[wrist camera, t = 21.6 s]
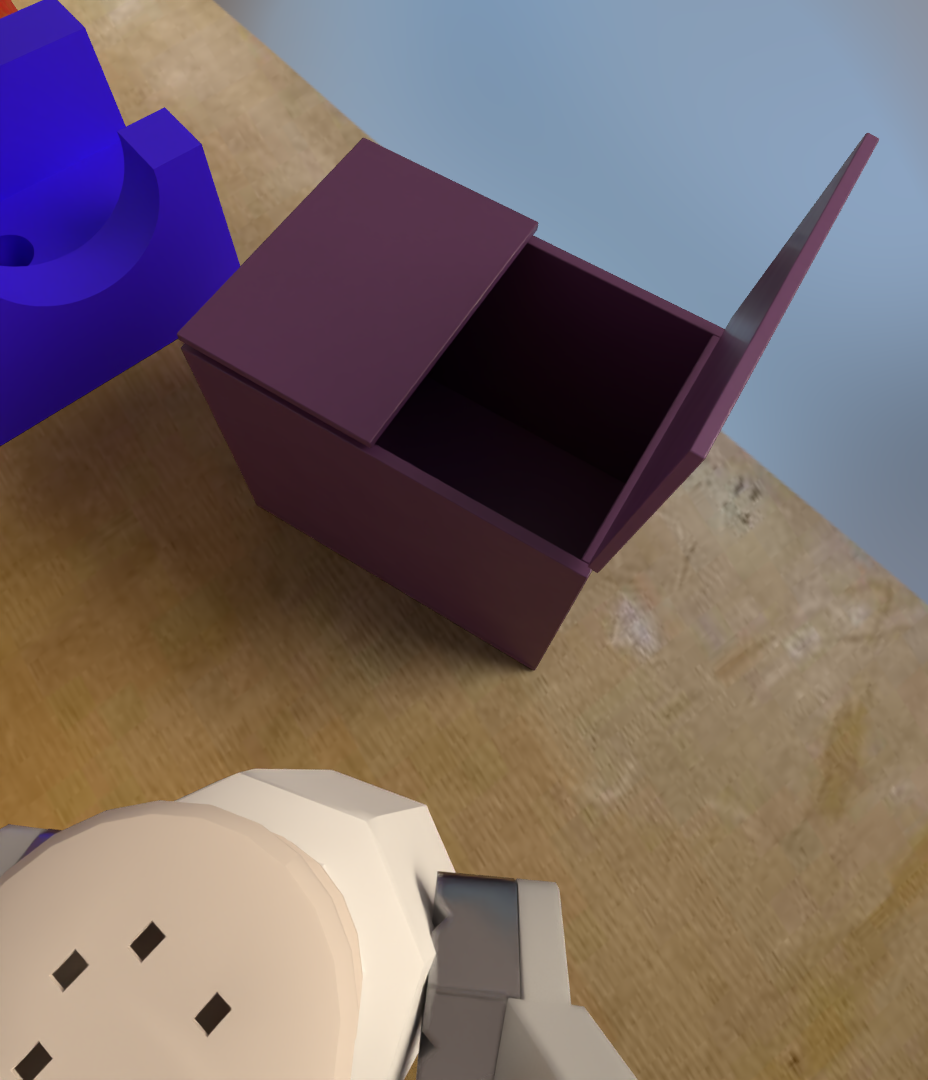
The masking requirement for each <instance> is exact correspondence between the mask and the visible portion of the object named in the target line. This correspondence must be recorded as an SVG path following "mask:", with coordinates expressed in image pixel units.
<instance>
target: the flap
mask: <svg viewBox="0 0 928 1080" xmlns="http://www.w3.org/2000/svg"><path fill="white" fill-rule="evenodd" d="M878 141H879V138H877V137H875V136H873V135H871V134H870V133H866V134H865V136H864V137H863V138H862V140H861V141H860V142H859V144H858V145H857V147H856V148H855V149H854V151H853V152H852V153H851V155H850V156H849V157H848V159H847V160H846V162H845V163H844V164H843V166H842V167H841V169H840V170H839V171H838V173H837V174H836V175H835V177H834V178H833V179H832V181H831V182H830V184H829V185H828V186H827V188H826V189H825V190H824V192H823V193H822V195H821V196H820V197H819V199H818V200H817V201H816V203H815V204H814V206H813V207H812V208H811V210H810V211H809V213H808V214H807V215H806V217H805V218H804V219H803V221H802V222H801V224H800V225H799V226H798V228H797V229H796V230H795V232H794V233H793V234H792V236H791V237H790V239H789V240H788V241H787V243H786V244H785V245H784V247H783V248H782V249H781V251H780V252H779V254H778V255H777V257H776V258H775V259H774V261H773V262H772V263H771V265H770V266H769V267H768V269H767V270H766V271H765V273H764V274H763V276H762V277H761V278H760V280H759V281H758V283H757V284H756V285H755V287H754V288H753V289H752V291H751V292H750V293H749V295H748V296H747V298H746V299H745V300H744V302H743V303H742V304H741V306H740V307H739V309H738V310H737V311H736V313H735V314H734V315H733V317H732V318H731V320H730V322H729V323H728V325H727V327H726V329H725V330H724V332H723V334H722V335H721V337H720V339H719V341H718V342H717V344H716V346H715V348H714V349H713V351H712V353H711V354H710V356H709V358H708V360H707V361H706V363H705V365H704V366H703V368H702V370H701V372H700V373H699V375H698V377H697V379H696V380H695V382H694V384H693V385H692V387H691V389H690V391H689V392H688V394H687V396H686V398H685V399H684V401H683V403H682V404H681V406H680V408H679V410H678V411H677V413H676V415H675V416H674V418H673V420H672V422H671V423H670V425H669V427H668V429H667V430H666V432H665V434H664V435H663V437H662V439H661V441H660V442H659V444H658V446H657V448H656V449H655V451H654V453H653V454H652V456H651V458H650V460H649V461H648V463H647V465H646V466H645V468H644V470H643V472H642V473H641V475H640V477H639V479H638V480H637V482H636V484H635V485H634V487H633V489H632V491H631V492H630V494H629V496H628V498H627V499H626V501H625V503H624V504H623V506H622V508H621V510H620V511H619V513H618V515H617V516H616V518H615V520H614V522H613V523H612V525H611V527H610V529H609V530H608V532H607V534H606V535H605V537H604V539H603V541H602V542H601V544H600V546H599V547H598V549H597V551H596V553H595V554H594V556H593V558H592V560H591V561H590V563H589V565H588V567H589V568H590V569H592V570H593V571H595V572H597V573H598V572H599V571H600V570H601V569H602V568H603V567H604V566H605V565H606V564H607V563H608V562H609V561H610V560H611V558H612V557H613V556H614V555H615V554H616V553H617V552H618V551H619V550H620V549H621V548H622V547H623V546H624V545H625V544H626V543H627V541H628V540H629V539H630V538H631V537H632V536H633V535H634V534H635V533H636V532H637V531H638V530H639V529H640V528H641V527H642V526H643V524H644V523H645V522H646V521H647V520H648V519H649V518H650V517H651V516H652V515H653V514H654V513H655V512H656V511H657V510H658V509H659V507H660V506H661V505H662V504H663V503H664V502H665V501H666V500H667V499H668V498H669V497H670V496H671V495H672V494H673V493H674V491H675V490H676V489H677V488H678V487H679V486H680V485H681V484H682V483H683V482H684V481H685V480H686V479H687V478H688V477H689V476H690V474H691V473H692V472H693V471H694V470H695V469H696V468H697V467H698V466H699V465H700V464H701V463H702V462H703V461H704V460H705V458H706V456H707V455H708V453H709V451H710V449H711V447H712V445H713V444H714V442H715V440H716V438H717V436H718V434H719V433H720V431H721V429H722V427H723V425H724V423H725V421H726V420H727V418H728V416H729V414H730V412H731V410H732V409H733V407H734V405H735V403H736V401H737V400H738V398H739V396H740V394H741V392H742V390H743V389H744V387H745V385H746V383H747V381H748V379H749V378H750V376H751V374H752V372H753V370H754V368H755V367H756V365H757V363H758V361H759V359H760V357H761V356H762V354H763V352H764V350H765V348H766V346H767V345H768V343H769V341H770V339H771V337H772V335H773V333H774V332H775V330H776V328H777V326H778V324H779V323H780V321H781V319H782V317H783V315H784V313H785V312H786V309H787V308H788V306H789V304H790V302H791V301H792V298H793V297H794V295H795V293H796V291H797V290H798V288H799V286H800V284H801V282H802V280H803V278H804V277H805V275H806V273H807V271H808V269H809V268H810V266H811V264H812V262H813V260H814V258H815V257H816V255H817V253H818V251H819V249H820V247H821V245H822V244H823V242H824V240H825V238H826V236H827V235H828V233H829V231H830V229H831V227H832V225H833V223H834V222H835V220H836V218H837V216H838V214H839V212H840V211H841V209H842V207H843V205H844V203H845V202H846V200H847V198H848V196H849V194H850V192H851V190H852V189H853V187H854V185H855V183H856V181H857V180H858V178H859V176H860V174H861V172H862V170H863V169H864V167H865V165H866V163H867V161H868V159H869V158H870V156H871V154H872V152H873V150H874V148H875V146H876V145H877V143H878Z"/></svg>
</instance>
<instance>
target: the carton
mask: <svg viewBox="0 0 928 1080" xmlns="http://www.w3.org/2000/svg"><path fill="white" fill-rule="evenodd" d="M537 228H538V222H536V221H534V220H532V219H530V218H528V217H526V216H524V215H522V214H520V213H518V212H516V211H514V210H512V209H510V208H508V207H505V206H503V205H501V204H499V203H497V202H495V201H493V200H491V199H489V198H487V197H484V196H483V195H481V194H479V193H477V192H474V191H473V190H471V189H468V188H466V187H464V186H462V185H460V184H458V183H456V182H454V181H452V180H450V179H448V178H446V177H444V176H442V175H440V174H438V173H435V172H433V171H431V170H429V169H427V168H425V167H423V166H421V165H419V164H417V163H415V162H413V161H411V160H409V159H407V158H405V157H402V156H400V155H398V154H396V153H394V152H392V151H390V150H388V149H386V148H384V147H382V146H380V145H378V144H376V143H374V142H372V141H370V140H367V139H365V138H362V139H361V140H360V141H359V142H358V143H357V144H356V146H355V147H354V148H353V149H352V150H351V151H350V152H349V153H348V154H347V155H346V156H345V157H344V158H343V159H342V160H341V161H340V162H339V163H338V164H337V165H336V167H335V168H334V169H333V170H332V171H331V172H330V173H329V174H328V175H327V176H326V177H325V178H324V179H323V180H322V181H321V182H320V183H319V184H318V185H317V187H316V188H315V189H314V190H313V191H312V192H311V193H310V194H309V195H308V196H307V197H306V198H305V199H304V200H303V201H302V202H301V203H300V204H299V205H298V206H297V208H296V209H295V210H294V211H293V212H292V213H291V214H290V215H289V216H288V217H287V218H286V219H285V220H284V221H283V222H282V223H281V224H280V225H279V226H278V228H277V229H276V230H275V231H274V232H273V233H272V234H271V235H270V236H269V237H268V238H267V239H266V240H265V241H264V242H263V243H262V244H261V245H260V246H259V247H258V249H257V250H256V251H255V252H254V253H253V254H252V255H251V256H250V257H249V258H248V259H247V260H246V261H245V262H244V263H243V264H242V265H241V266H240V267H239V269H238V270H237V271H236V272H235V273H234V274H233V275H232V276H231V277H230V278H229V279H228V280H227V281H226V282H225V283H224V284H223V285H222V286H221V287H220V288H219V290H218V291H217V292H216V293H215V294H214V295H213V296H212V297H211V298H210V299H209V300H208V301H207V302H206V303H205V304H204V305H203V306H202V307H201V308H200V310H199V311H198V312H197V313H196V314H195V315H194V316H193V317H192V318H191V319H190V320H189V321H188V322H187V323H186V324H185V325H184V326H183V327H182V328H181V329H180V331H179V332H178V333H177V336H178V338H179V340H180V341H182V342H183V343H185V344H184V345H183V346H182V347H181V349H182V352H183V354H184V356H185V358H186V360H187V362H188V364H189V366H190V368H191V370H192V372H193V374H194V376H195V378H196V380H197V382H198V385H199V387H200V389H201V391H202V393H203V395H204V397H205V399H206V401H207V403H208V405H209V407H210V409H211V411H212V413H213V416H214V418H215V420H216V422H217V424H218V426H219V428H220V430H221V432H222V434H223V436H224V438H225V440H226V442H227V444H228V446H229V449H230V451H231V453H232V455H233V457H234V459H235V461H236V463H237V465H238V467H239V469H240V471H241V473H242V475H243V477H244V479H245V482H246V484H247V486H248V488H249V490H250V492H251V494H252V496H253V498H254V500H255V502H256V504H257V505H258V506H259V507H261V508H263V509H264V510H266V511H268V512H270V513H271V514H273V515H275V516H276V517H278V518H280V519H281V520H283V521H285V522H286V523H288V524H290V525H291V526H293V527H295V528H296V529H298V530H300V531H301V532H303V533H305V534H306V535H308V536H310V537H311V538H313V539H315V540H316V541H318V542H320V543H321V544H323V545H325V546H326V547H328V548H330V549H331V550H333V551H335V552H336V553H338V554H340V555H341V556H343V557H345V558H346V559H348V560H350V561H351V562H353V563H355V564H356V565H358V566H360V567H361V568H363V569H365V570H366V571H368V572H370V573H371V574H373V575H375V576H376V577H378V578H380V579H381V580H383V581H385V582H387V583H388V584H390V585H392V586H393V587H395V588H397V589H398V590H400V591H402V592H403V593H405V594H407V595H408V596H410V597H412V598H413V599H415V600H417V601H418V602H420V603H422V604H423V605H425V606H427V607H428V608H430V609H432V610H433V611H435V612H437V613H438V614H440V615H442V616H443V617H445V618H447V619H448V620H450V621H452V622H453V623H455V624H457V625H458V626H460V627H462V628H463V629H465V630H467V631H468V632H470V633H472V634H473V635H475V636H477V637H478V638H480V639H482V640H483V641H485V642H487V643H488V644H490V645H492V646H493V647H495V648H497V649H498V650H500V651H502V652H504V653H505V654H507V655H509V656H510V657H512V658H514V659H515V660H517V661H519V662H520V663H522V664H524V665H525V666H527V667H529V668H530V669H532V670H535V669H536V667H537V666H538V664H539V662H540V661H541V659H542V657H543V655H544V654H545V652H546V650H547V648H548V647H549V645H550V643H551V641H552V640H553V638H554V636H555V634H556V633H557V631H558V629H559V628H560V626H561V624H562V622H563V621H564V619H565V617H566V615H567V614H568V612H569V610H570V608H571V607H572V605H573V603H574V601H575V600H576V598H577V596H578V595H579V593H580V591H581V589H582V588H583V586H584V584H585V582H586V581H587V579H588V577H589V575H590V574H591V572H592V569H590V568H589V567H588V565H589V563H590V561H591V560H592V558H593V556H594V554H595V553H596V551H597V549H598V547H599V546H600V544H601V542H602V541H603V539H604V537H605V535H606V534H607V532H608V530H609V529H610V527H611V525H612V523H613V522H614V520H615V518H616V516H617V515H618V513H619V511H620V510H621V508H622V506H623V504H624V503H625V501H626V499H627V498H628V496H629V494H630V492H631V491H632V489H633V487H634V485H635V484H636V482H637V480H638V479H639V477H640V475H641V473H642V472H643V470H644V468H645V466H646V465H647V463H648V461H649V460H650V458H651V456H652V454H653V453H654V451H655V449H656V448H657V446H658V444H659V442H660V441H661V439H662V437H663V435H664V434H665V432H666V430H667V429H668V427H669V425H670V423H671V422H672V420H673V418H674V416H675V415H676V413H677V411H678V410H679V408H680V406H681V404H682V403H683V401H684V399H685V398H686V396H687V394H688V392H689V391H690V389H691V387H692V385H693V384H694V382H695V380H696V379H697V377H698V375H699V373H700V372H701V370H702V368H703V366H704V365H705V363H706V361H707V360H708V358H709V356H710V354H711V353H712V351H713V349H714V348H715V346H716V344H717V342H718V341H719V339H720V337H721V335H722V334H723V332H724V330H725V329H723V328H721V327H719V326H717V325H715V324H713V323H711V322H709V321H707V320H705V319H703V318H701V317H699V316H696V315H695V314H693V313H690V312H689V311H687V310H684V309H682V308H680V307H678V306H676V305H674V304H672V303H670V302H668V301H666V300H664V299H662V298H660V297H658V296H656V295H654V294H652V293H650V292H648V291H646V290H643V289H641V288H639V287H637V286H635V285H633V284H631V283H629V282H627V281H625V280H623V279H621V278H619V277H617V276H615V275H613V274H611V273H609V272H607V271H604V270H603V269H601V268H598V267H597V266H595V265H592V264H590V263H588V262H586V261H584V260H582V259H580V258H578V257H576V256H574V255H572V254H570V253H568V252H566V251H564V250H562V249H560V248H557V247H556V246H553V245H552V244H550V243H547V242H545V241H543V240H541V239H539V238H537V237H535V236H533V234H534V233H535V232H536V230H537Z"/></svg>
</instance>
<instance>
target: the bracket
mask: <svg viewBox="0 0 928 1080" xmlns="http://www.w3.org/2000/svg"><path fill="white" fill-rule="evenodd" d="M239 267H240V264H239V261H238V258H237V255H236V251H235V248H234V245H233V242H232V239H231V236H230V232H229V229H228V226H227V223H226V220H225V217H224V214H223V210H222V207H221V204H220V201H219V198H218V195H217V191H216V188H215V185H214V182H213V179H212V176H211V172H210V169H209V166H208V163H207V160H206V157H205V154H204V150H203V147H202V144H201V143H200V142H199V141H198V140H197V139H196V138H195V137H194V136H193V135H192V134H191V133H190V132H189V131H188V130H187V129H186V128H185V127H184V126H183V125H182V124H181V123H180V122H179V121H178V120H177V119H176V118H175V117H174V116H173V115H172V114H171V113H170V112H169V111H168V110H167V109H166V108H163V109H161V110H159V111H157V112H155V113H153V114H151V115H149V116H147V117H145V118H143V119H141V120H139V121H137V122H135V123H133V124H131V125H129V126H127V127H126V126H125V124H124V121H123V119H122V116H121V114H120V112H119V109H118V107H117V104H116V102H115V100H114V97H113V95H112V92H111V90H110V87H109V85H108V83H107V80H106V78H105V75H104V73H103V70H102V68H101V66H100V63H99V61H98V58H97V56H96V54H95V51H94V49H93V46H92V44H91V41H90V39H89V37H88V34H87V32H86V29H85V27H84V26H83V25H82V24H81V23H80V22H79V21H78V20H77V19H76V18H75V17H74V16H73V15H72V14H71V13H70V12H69V11H68V10H67V9H66V8H65V7H64V6H63V5H62V4H61V3H60V2H59V1H58V0H42V1H40V2H38V3H35V4H33V5H31V6H28V7H26V8H24V9H21V10H19V11H17V12H14V13H12V14H10V15H7V16H5V17H3V18H1V19H0V446H1V445H3V444H5V443H6V442H8V441H10V440H11V439H13V438H15V437H16V436H18V435H20V434H21V433H23V432H25V431H26V430H28V429H29V428H31V427H33V426H34V425H36V424H38V423H39V422H41V421H43V420H44V419H46V418H48V417H49V416H51V415H53V414H54V413H56V412H58V411H59V410H61V409H63V408H64V407H66V406H67V405H69V404H71V403H72V402H74V401H76V400H77V399H79V398H81V397H82V396H84V395H86V394H87V393H89V392H91V391H92V390H94V389H96V388H97V387H99V386H101V385H102V384H104V383H105V382H107V381H109V380H110V379H112V378H114V377H115V376H117V375H119V374H120V373H122V372H124V371H125V370H127V369H129V368H130V367H132V366H134V365H135V364H137V363H139V362H140V361H142V360H143V359H145V358H147V357H148V356H150V355H152V354H153V353H155V352H157V351H158V350H160V349H162V348H163V347H165V346H167V345H168V344H170V343H172V342H173V341H175V340H177V339H178V336H177V333H178V332H179V331H180V329H181V328H182V327H183V326H184V325H185V324H186V323H187V322H188V321H189V320H190V319H191V318H192V317H193V316H194V315H195V314H196V313H197V312H198V311H199V310H200V308H201V307H202V306H203V305H204V304H205V303H206V302H207V301H208V300H209V299H210V298H211V297H212V296H213V295H214V294H215V293H216V292H217V291H218V290H219V288H220V287H221V286H222V285H223V284H224V283H225V282H226V281H227V280H228V279H229V278H230V277H231V276H232V275H233V274H234V273H235V272H236V271H237V270H238V269H239Z"/></svg>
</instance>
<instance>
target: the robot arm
mask: <svg viewBox="0 0 928 1080" xmlns="http://www.w3.org/2000/svg"><path fill="white" fill-rule="evenodd" d="M60 831H62V830H54V829H41V828H33V827H26V826H18V825H11V824H8V825H7V826H5V827H3V828H1V829H0V877H1V876H2V875H3V874H4V873H5V872H6V871H7V870H8V869H10V868H11V867H12V866H14V865H15V864H16V863H17V862H19V861H20V860H21V859H23V858H24V857H25V856H27V855H28V854H29V853H31V852H32V851H33V850H34V849H36V848H37V847H38V846H40V845H41V844H42V843H44V842H45V841H46V840H47V839H49V838H50V837H51V836H53V835H54V834H56V833H58V832H60ZM432 923H433V925H434V928H435V929H434V930H433V931H432V942H433V945H434V948H435V951H436V954H435V957H434V960H433V962H432V965H431V967H430V970H429V973H428V979H427V985H426V991H425V1001H424V1004H423V1013H422V1023H421V1032H420V1042H419V1054H418V1066H417V1077H416V1080H637V1078H636V1077H635V1075H634V1074H633V1073H632V1071H631V1070H630V1069H629V1067H628V1066H627V1065H626V1063H625V1062H624V1060H623V1059H622V1058H621V1056H620V1055H619V1054H618V1052H617V1051H616V1050H615V1048H614V1047H613V1046H612V1044H611V1043H610V1041H609V1040H608V1039H607V1037H606V1036H605V1035H604V1033H603V1032H602V1031H601V1029H600V1028H599V1026H598V1025H597V1024H596V1022H595V1021H594V1020H593V1018H592V1017H591V1016H590V1014H589V1013H588V1011H587V1010H586V1009H585V1007H584V1006H577V1005H571V998H570V989H569V979H568V969H567V959H566V950H565V940H564V930H563V920H562V911H561V901H560V891H559V888H558V886H557V884H556V882H546V881H536V880H525V879H516V881H515V879H514V878H505V877H495V876H484V875H474V874H463V873H452V872H442V871H437V878H436V886H435V894H434V904H433V916H432Z"/></svg>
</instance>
